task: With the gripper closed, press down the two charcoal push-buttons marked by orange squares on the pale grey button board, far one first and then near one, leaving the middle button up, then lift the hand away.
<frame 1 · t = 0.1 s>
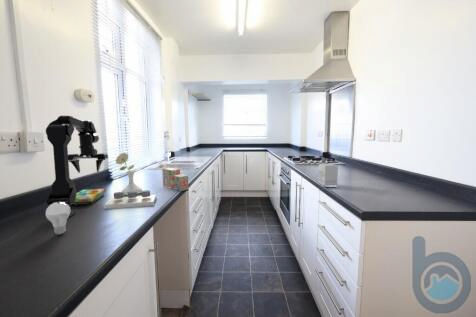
hand: (88, 172, 123), 15 cm above the worktop, tool pointing down, fingers open, 9 cm apart
supplement box: (327, 186, 150), on the worktop
puzzle game: (87, 201, 120), on the worktop
button board: (132, 203, 115), on the worktop
button near: (118, 195, 114), point 4 cm above the worktop, slide at 0.0 cm
light bulb: (60, 234, 80), on the worktop
button far: (145, 193, 117), point 4 cm above the worktop, slide at 0.0 cm
stack of blocks: (175, 188, 148), on the worktop
flower in vase: (130, 194, 131), on the worktop
button middle: (132, 194, 116), point 4 cm above the worktop, slide at 0.0 cm
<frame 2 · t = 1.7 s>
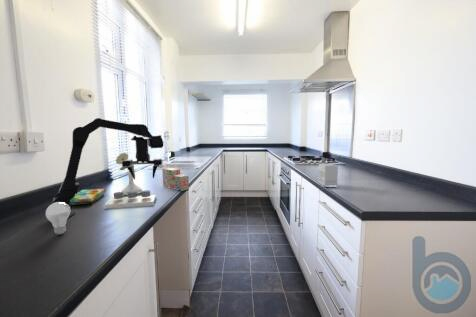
hand: (144, 178, 116), 12 cm above the worktop, tool pointing down, fingers open, 9 cm apart
nothing on the worktop moved.
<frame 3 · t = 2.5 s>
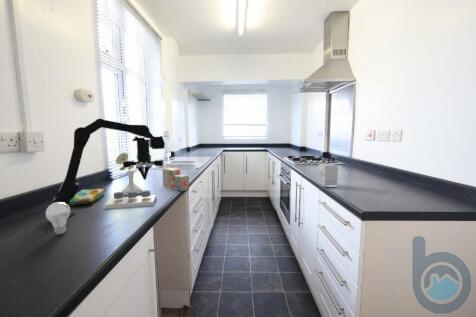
hand: (144, 179, 116), 12 cm above the worktop, tool pointing down, fingers closed
nothing on the worktop moved.
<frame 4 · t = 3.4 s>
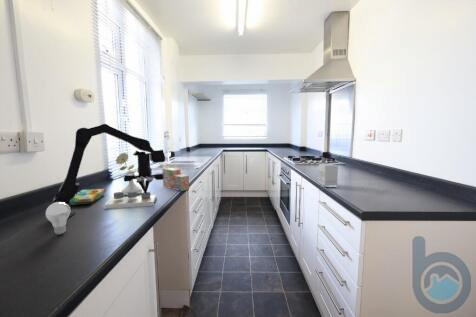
hand: (145, 193, 117), 5 cm above the worktop, tool pointing down, fingers closed, pressing on button far
button far: (145, 195, 117), point 4 cm above the worktop, slide at 0.8 cm, touching gripper
everything else where it was.
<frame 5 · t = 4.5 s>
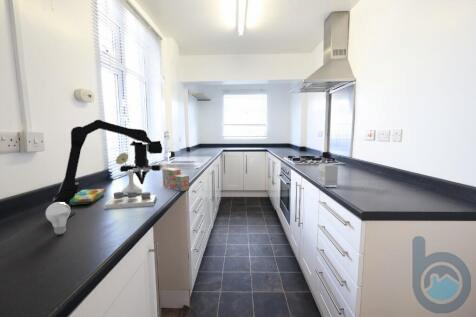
hand: (142, 184, 116), 10 cm above the worktop, tool pointing down, fingers closed
button far: (145, 195, 117), point 3 cm above the worktop, slide at 1.0 cm
everything else where it was.
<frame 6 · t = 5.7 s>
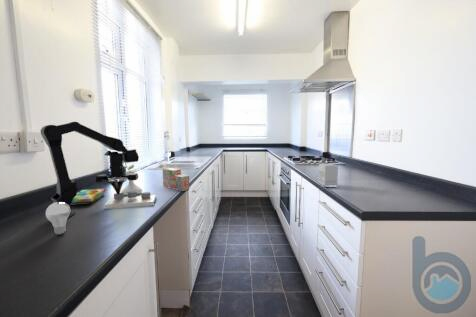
hand: (118, 193, 114), 5 cm above the worktop, tool pointing down, fingers closed, pressing on button near
button near: (118, 196, 114), point 4 cm above the worktop, slide at 0.5 cm, touching gripper
everything else where it was.
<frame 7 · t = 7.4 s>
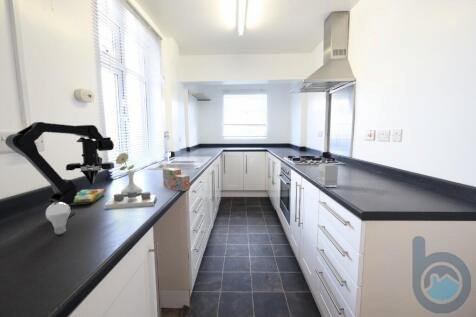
hand: (92, 184, 107), 12 cm above the worktop, tool pointing down, fingers closed
button near: (118, 197, 114), point 3 cm above the worktop, slide at 1.0 cm
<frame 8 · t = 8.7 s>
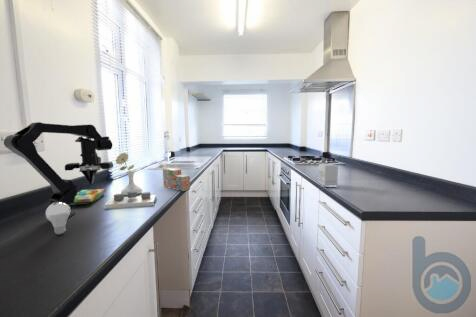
hand: (91, 183, 107), 12 cm above the worktop, tool pointing down, fingers closed
at the end: button far slide at 1.0 cm; button near slide at 1.0 cm; button middle slide at 0.0 cm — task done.
